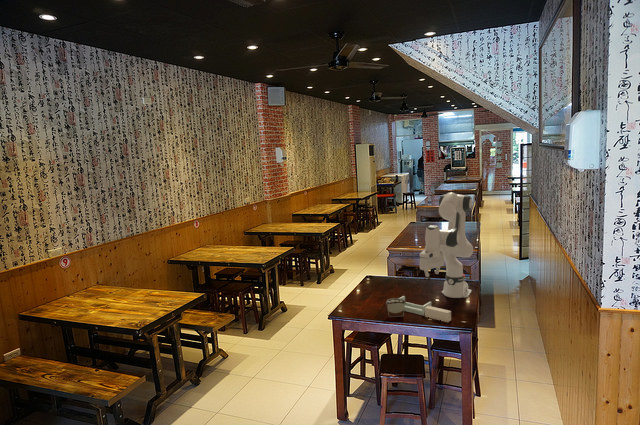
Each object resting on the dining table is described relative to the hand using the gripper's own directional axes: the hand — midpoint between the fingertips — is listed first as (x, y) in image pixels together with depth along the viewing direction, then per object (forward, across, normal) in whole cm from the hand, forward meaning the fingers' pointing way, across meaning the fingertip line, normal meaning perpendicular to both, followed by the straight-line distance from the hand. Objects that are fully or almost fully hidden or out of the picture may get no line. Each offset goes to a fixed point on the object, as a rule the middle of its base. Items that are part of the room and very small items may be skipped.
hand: (432, 275), depth 258 cm
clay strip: (+27, -3, +2) cm, 28 cm away
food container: (+28, +10, -20) cm, 36 cm away
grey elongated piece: (+27, -4, -17) cm, 32 cm away
